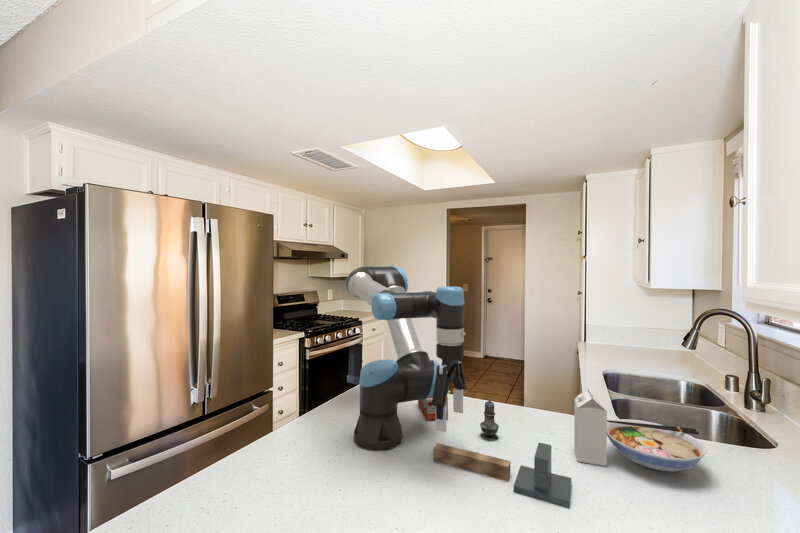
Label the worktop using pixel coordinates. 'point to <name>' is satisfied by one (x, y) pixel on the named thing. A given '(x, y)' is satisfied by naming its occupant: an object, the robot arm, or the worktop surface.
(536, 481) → the ridge stand
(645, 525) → the worktop surface
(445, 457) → the walnut beam
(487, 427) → the grey stone chess piece
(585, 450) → the milk carton
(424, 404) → the medicine box
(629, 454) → the ramen bowl
